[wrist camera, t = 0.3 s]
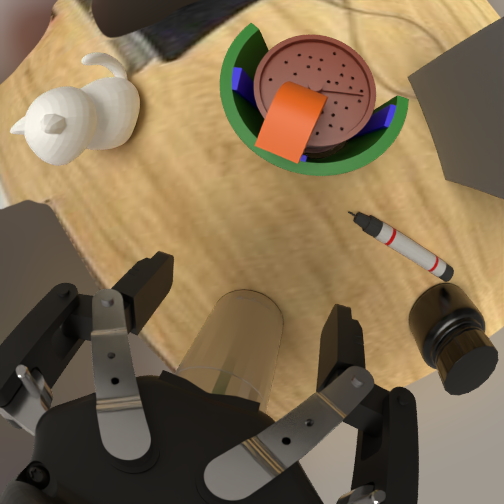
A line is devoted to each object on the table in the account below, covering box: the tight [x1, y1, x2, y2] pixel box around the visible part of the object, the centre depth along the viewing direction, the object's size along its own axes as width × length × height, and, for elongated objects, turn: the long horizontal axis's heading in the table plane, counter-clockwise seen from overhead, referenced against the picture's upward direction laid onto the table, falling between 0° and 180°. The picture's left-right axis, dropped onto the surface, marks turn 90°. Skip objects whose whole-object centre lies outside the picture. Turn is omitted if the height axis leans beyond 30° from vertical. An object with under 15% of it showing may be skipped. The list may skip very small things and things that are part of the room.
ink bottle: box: [409, 284, 498, 395], centre depth 26 cm, size 10×9×12 cm
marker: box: [348, 212, 454, 282], centre depth 29 cm, size 15×2×2 cm, turn 65°
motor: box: [220, 23, 409, 176], centre depth 18 cm, size 10×9×20 cm
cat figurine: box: [10, 52, 140, 166], centre depth 24 cm, size 9×12×15 cm
